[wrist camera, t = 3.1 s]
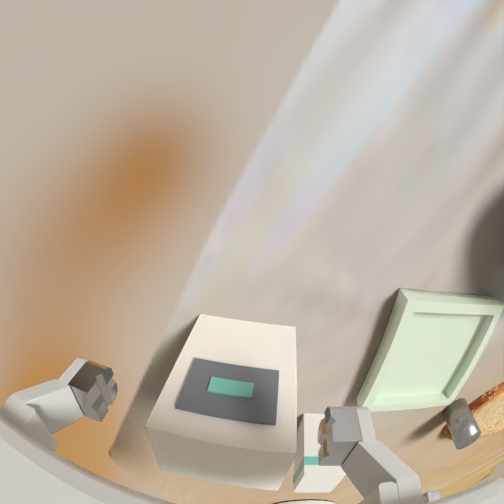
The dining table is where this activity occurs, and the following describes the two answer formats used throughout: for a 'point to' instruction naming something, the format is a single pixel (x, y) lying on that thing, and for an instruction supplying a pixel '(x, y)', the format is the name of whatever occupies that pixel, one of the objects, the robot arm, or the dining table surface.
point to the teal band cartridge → (312, 460)
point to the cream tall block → (230, 405)
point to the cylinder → (461, 423)
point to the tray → (428, 349)
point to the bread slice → (487, 412)
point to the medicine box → (431, 496)
